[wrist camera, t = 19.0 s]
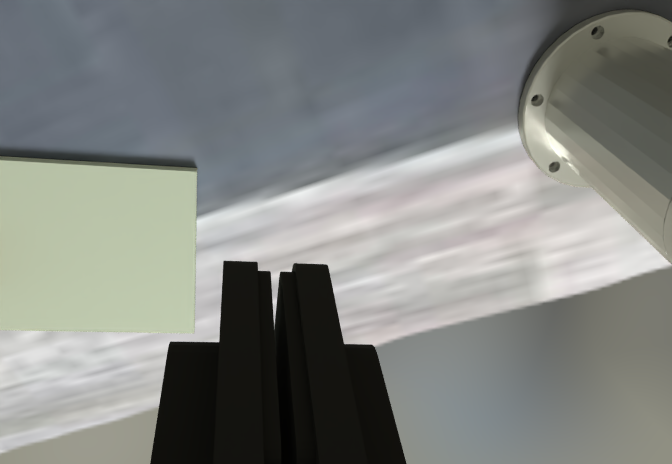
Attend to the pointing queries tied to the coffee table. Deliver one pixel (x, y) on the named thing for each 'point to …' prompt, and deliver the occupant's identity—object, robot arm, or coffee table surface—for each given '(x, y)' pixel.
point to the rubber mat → (97, 246)
